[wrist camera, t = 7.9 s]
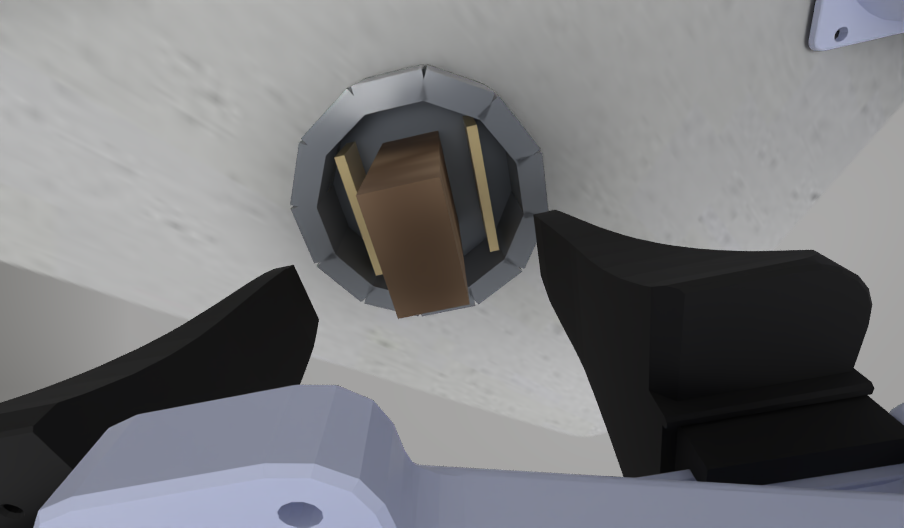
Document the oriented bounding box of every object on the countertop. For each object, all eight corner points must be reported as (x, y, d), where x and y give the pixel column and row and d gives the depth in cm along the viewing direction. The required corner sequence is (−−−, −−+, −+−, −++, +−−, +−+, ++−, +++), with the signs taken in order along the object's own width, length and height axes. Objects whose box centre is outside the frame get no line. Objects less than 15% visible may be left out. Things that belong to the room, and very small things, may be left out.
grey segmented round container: (512, 42, 17) (530, 42, 14) (539, 253, 21) (556, 289, 18) (281, 98, 17) (248, 110, 14) (356, 291, 22) (343, 331, 19)
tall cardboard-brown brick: (438, 130, 18) (440, 177, 12) (458, 223, 20) (469, 304, 14) (382, 143, 18) (355, 195, 12) (409, 234, 20) (398, 318, 14)
